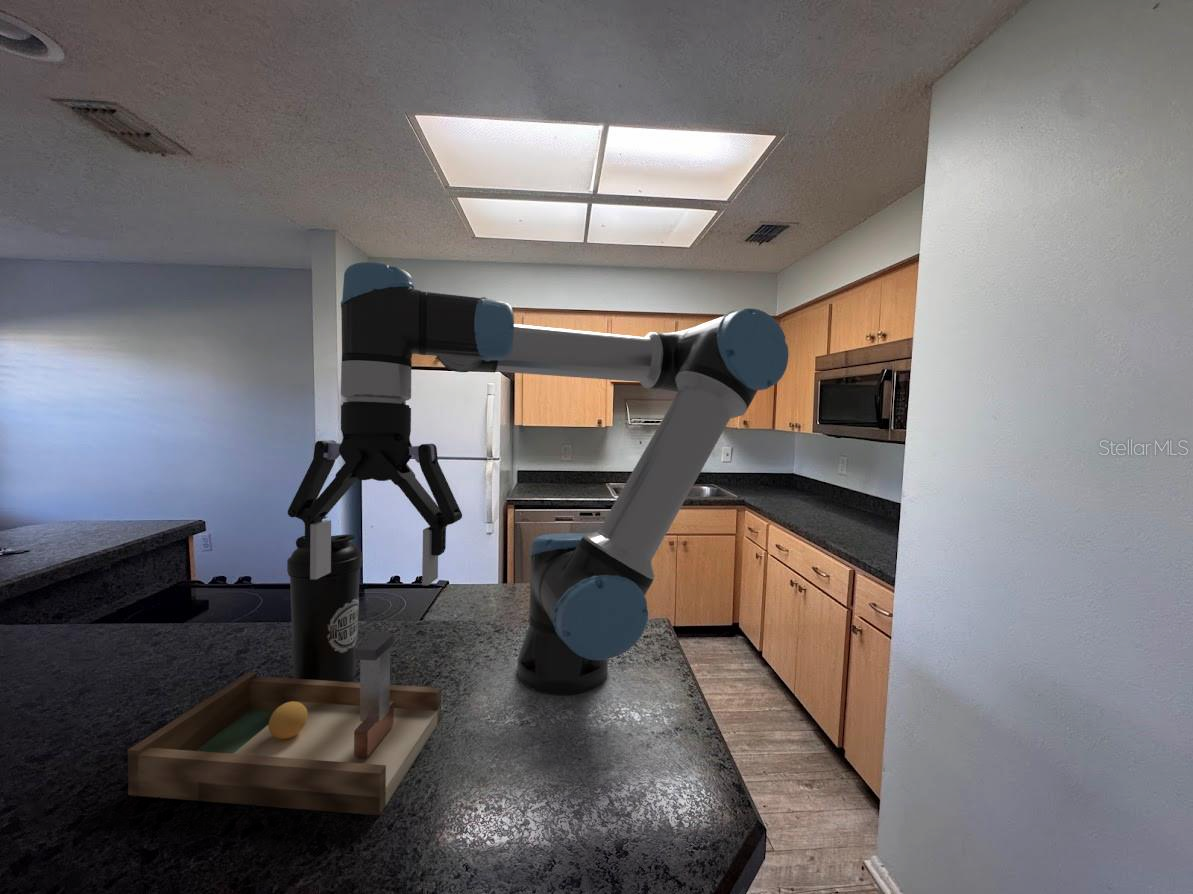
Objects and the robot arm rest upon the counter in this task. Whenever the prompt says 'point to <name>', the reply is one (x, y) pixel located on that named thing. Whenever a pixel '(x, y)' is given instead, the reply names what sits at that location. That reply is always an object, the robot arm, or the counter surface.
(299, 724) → the ball
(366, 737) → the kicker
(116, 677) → the counter surface
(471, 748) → the counter surface
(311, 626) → the water bottle
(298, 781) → the lane
